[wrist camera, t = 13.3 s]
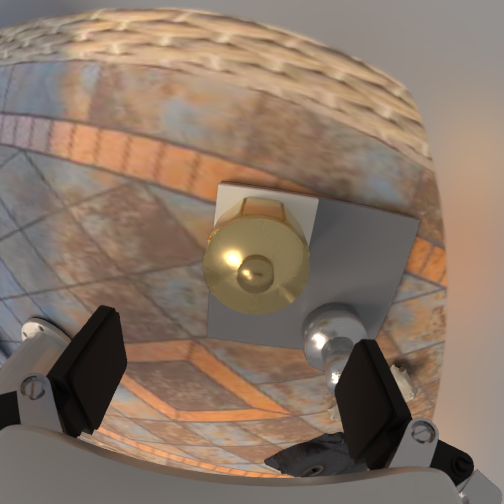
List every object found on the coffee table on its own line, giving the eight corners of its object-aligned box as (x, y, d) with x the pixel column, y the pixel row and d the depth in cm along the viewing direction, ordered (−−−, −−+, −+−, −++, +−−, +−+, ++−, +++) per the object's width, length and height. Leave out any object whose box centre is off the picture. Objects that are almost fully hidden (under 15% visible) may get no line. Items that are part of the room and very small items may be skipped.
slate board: (365, 346, 26) (368, 353, 25) (208, 330, 26) (206, 337, 25) (414, 217, 20) (420, 220, 20) (221, 181, 20) (219, 183, 19)
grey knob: (348, 350, 25) (364, 404, 19) (295, 346, 25) (301, 404, 19) (367, 305, 23) (393, 358, 17) (310, 298, 23) (322, 356, 17)
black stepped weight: (328, 478, 43) (330, 496, 39) (256, 455, 38) (255, 478, 33) (391, 452, 38) (396, 470, 34) (332, 424, 33) (337, 451, 29)
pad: (298, 283, 22) (298, 287, 22) (211, 270, 22) (209, 274, 22) (317, 198, 19) (318, 200, 19) (219, 183, 19) (218, 184, 19)
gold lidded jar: (306, 204, 19) (322, 232, 14) (292, 280, 21) (299, 327, 16) (220, 193, 19) (202, 216, 14) (214, 270, 21) (198, 315, 16)
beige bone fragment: (320, 395, 30) (324, 424, 26) (397, 352, 27) (410, 380, 23) (341, 412, 31) (346, 439, 27) (411, 374, 28) (422, 399, 24)
